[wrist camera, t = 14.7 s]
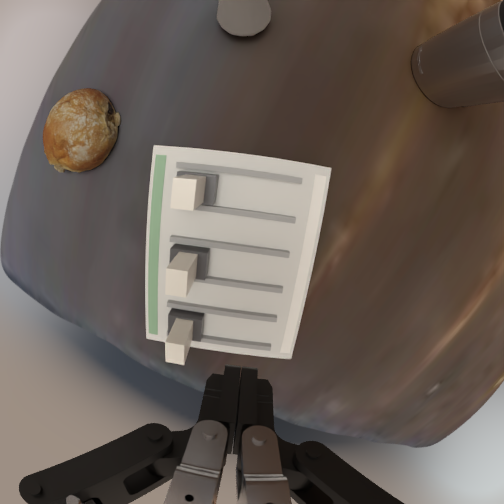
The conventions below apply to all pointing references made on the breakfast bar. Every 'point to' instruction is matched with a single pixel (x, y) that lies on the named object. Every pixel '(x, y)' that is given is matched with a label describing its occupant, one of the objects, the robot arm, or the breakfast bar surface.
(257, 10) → the salt shaker
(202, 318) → the breaker
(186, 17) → the breakfast bar surface
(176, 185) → the breaker
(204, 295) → the panel
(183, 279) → the breaker
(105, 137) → the bread roll
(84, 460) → the robot arm
